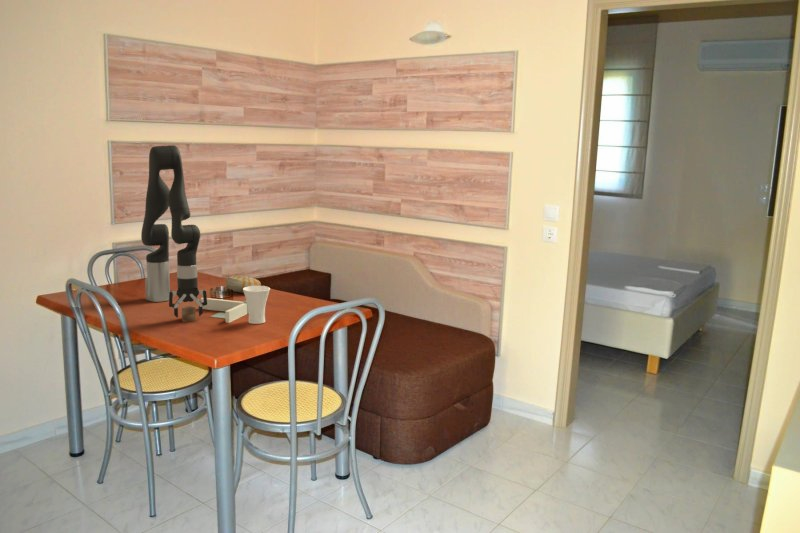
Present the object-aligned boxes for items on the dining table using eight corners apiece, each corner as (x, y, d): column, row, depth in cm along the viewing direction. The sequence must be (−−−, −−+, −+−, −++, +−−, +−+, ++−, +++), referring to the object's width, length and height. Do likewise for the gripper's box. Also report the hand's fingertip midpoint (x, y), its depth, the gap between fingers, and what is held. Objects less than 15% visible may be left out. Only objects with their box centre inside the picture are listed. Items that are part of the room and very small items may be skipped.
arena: (180, 317, 264) (180, 304, 263) (203, 307, 279) (203, 295, 278) (229, 322, 258) (229, 310, 257) (249, 312, 273) (249, 300, 272)
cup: (257, 327, 254) (256, 292, 251) (237, 322, 259) (236, 288, 256) (276, 321, 262) (275, 288, 260) (256, 317, 268) (256, 284, 265)
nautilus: (214, 289, 315) (243, 287, 325) (236, 295, 299) (265, 293, 309) (214, 273, 314) (243, 271, 324) (236, 278, 298) (265, 276, 308)
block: (182, 322, 258) (181, 309, 257) (182, 318, 263) (181, 306, 262) (195, 321, 260) (195, 308, 259) (195, 317, 264) (194, 305, 263)
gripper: (167, 278, 252) (169, 319, 255) (206, 277, 256) (207, 317, 259) (167, 274, 259) (169, 315, 262) (205, 273, 263) (206, 313, 266)
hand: (188, 316), depth 261 cm, fingers open, 8 cm apart
